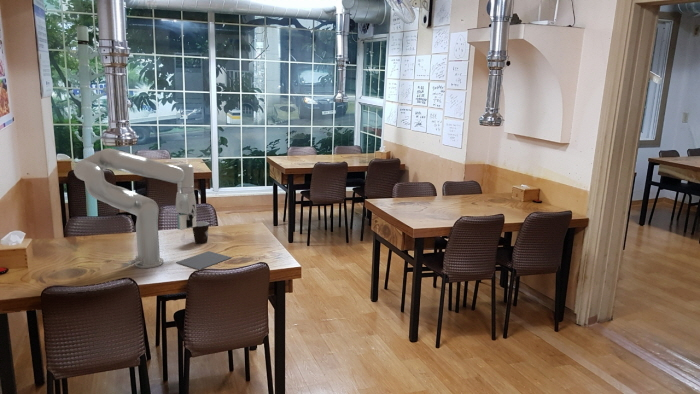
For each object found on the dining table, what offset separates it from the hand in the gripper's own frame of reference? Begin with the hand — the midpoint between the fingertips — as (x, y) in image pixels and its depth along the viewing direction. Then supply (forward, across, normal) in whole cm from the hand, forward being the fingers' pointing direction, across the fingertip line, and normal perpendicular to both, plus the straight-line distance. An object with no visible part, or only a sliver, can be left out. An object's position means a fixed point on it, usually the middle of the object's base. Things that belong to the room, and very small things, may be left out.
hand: (187, 226), depth 254 cm
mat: (+14, +13, -1) cm, 20 cm away
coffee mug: (+14, -10, +19) cm, 26 cm away
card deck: (+1, 0, 0) cm, 1 cm away
